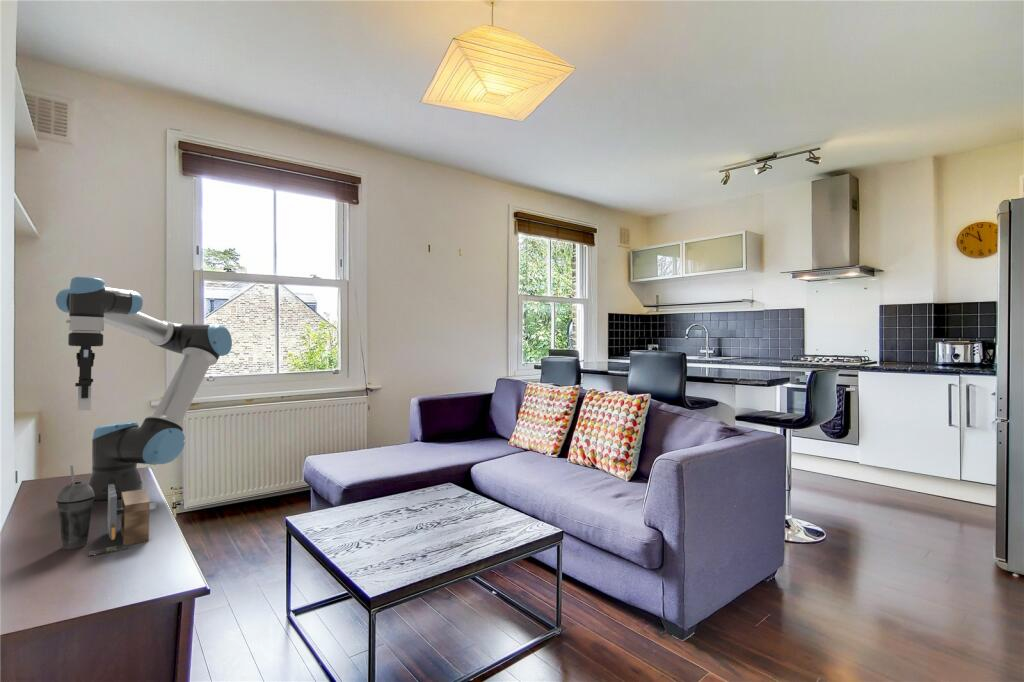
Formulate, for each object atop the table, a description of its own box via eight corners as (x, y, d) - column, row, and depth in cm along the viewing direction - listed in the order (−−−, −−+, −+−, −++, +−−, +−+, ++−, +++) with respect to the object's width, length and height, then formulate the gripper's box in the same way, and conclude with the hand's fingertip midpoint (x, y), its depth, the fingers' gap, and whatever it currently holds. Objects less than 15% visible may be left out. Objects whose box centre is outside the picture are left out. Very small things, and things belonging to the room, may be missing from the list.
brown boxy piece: (88, 556, 118) (89, 513, 118) (87, 535, 131) (89, 496, 131) (149, 544, 126) (150, 504, 126) (143, 525, 139) (144, 489, 139)
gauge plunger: (109, 540, 122) (111, 499, 122) (107, 522, 134) (108, 484, 134) (160, 531, 128) (161, 491, 128) (153, 514, 140) (154, 478, 140)
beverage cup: (101, 542, 126) (103, 462, 127) (67, 553, 120) (69, 469, 120) (81, 538, 129) (84, 460, 129) (47, 548, 122) (50, 466, 122)
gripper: (69, 332, 149) (67, 403, 149) (67, 331, 130) (65, 413, 130) (102, 332, 154) (100, 402, 153) (105, 332, 135) (102, 411, 134)
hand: (84, 407), depth 141 cm, fingers open, 13 cm apart
